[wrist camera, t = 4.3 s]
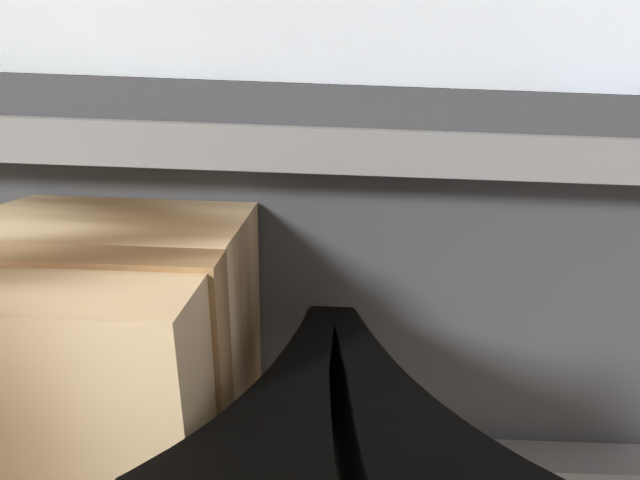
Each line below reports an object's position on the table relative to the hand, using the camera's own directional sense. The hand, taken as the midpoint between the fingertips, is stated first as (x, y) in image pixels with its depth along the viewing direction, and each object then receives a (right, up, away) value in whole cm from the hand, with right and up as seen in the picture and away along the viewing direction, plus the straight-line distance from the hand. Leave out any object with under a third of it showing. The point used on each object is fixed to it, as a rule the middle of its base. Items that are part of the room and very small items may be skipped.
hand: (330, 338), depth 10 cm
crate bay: (-1, 0, +1) cm, 2 cm away
